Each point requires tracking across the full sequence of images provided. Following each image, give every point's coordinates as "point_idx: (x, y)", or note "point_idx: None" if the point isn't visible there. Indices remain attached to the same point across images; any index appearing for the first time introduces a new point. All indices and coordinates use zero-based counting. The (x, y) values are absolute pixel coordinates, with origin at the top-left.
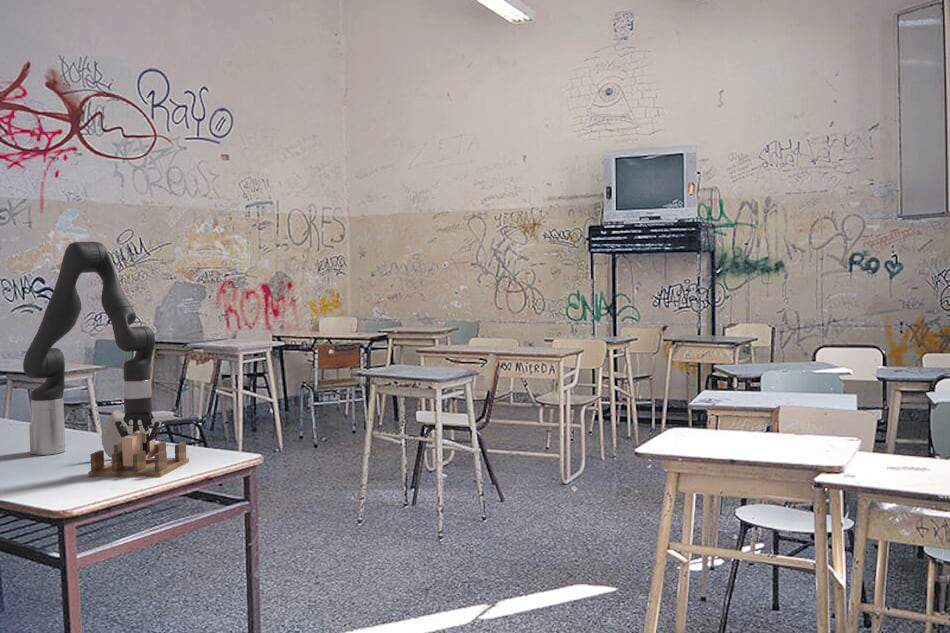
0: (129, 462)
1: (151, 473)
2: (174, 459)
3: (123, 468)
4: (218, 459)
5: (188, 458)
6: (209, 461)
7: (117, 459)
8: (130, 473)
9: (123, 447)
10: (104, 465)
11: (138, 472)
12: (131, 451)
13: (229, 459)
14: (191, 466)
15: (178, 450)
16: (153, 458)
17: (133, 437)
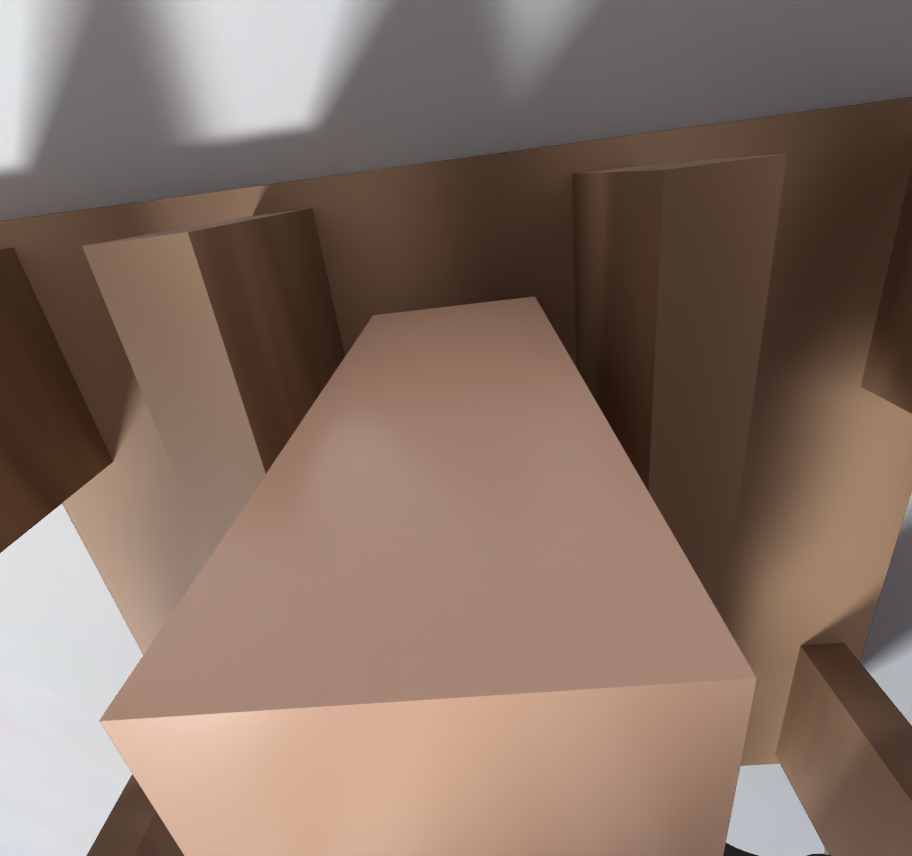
0: (425, 322)
1: (50, 217)
2: None
3: None
4: (82, 822)
5: None
6: (92, 780)
7: (618, 238)
8: (343, 175)
9: (562, 417)
10: (900, 491)
11: (222, 192)
12: (346, 399)
13: (7, 827)
14: (84, 655)
15: (116, 806)
16: None
17: (166, 798)
